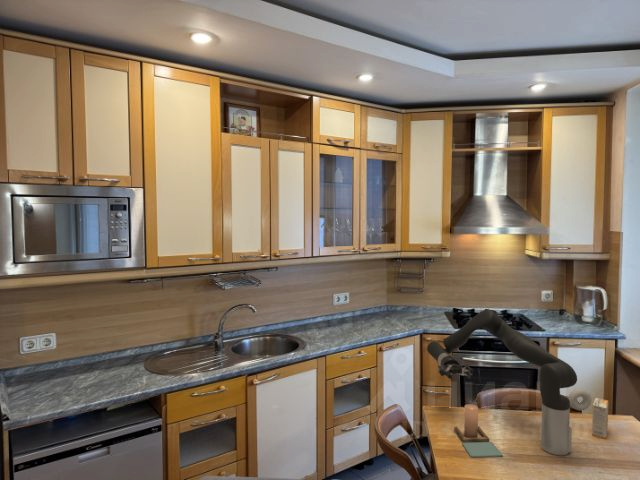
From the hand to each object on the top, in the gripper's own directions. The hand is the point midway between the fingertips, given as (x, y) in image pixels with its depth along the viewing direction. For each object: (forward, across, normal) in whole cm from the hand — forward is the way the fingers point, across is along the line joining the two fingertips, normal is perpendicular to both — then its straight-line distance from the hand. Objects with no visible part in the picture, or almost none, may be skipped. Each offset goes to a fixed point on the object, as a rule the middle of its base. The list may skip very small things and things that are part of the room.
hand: (461, 377), depth 180 cm
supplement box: (+12, +53, +20) cm, 58 cm away
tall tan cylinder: (+12, 0, +20) cm, 23 cm away
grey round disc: (-8, +58, +20) cm, 62 cm away
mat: (+22, 0, +20) cm, 29 cm away
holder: (+12, 0, +20) cm, 23 cm away
